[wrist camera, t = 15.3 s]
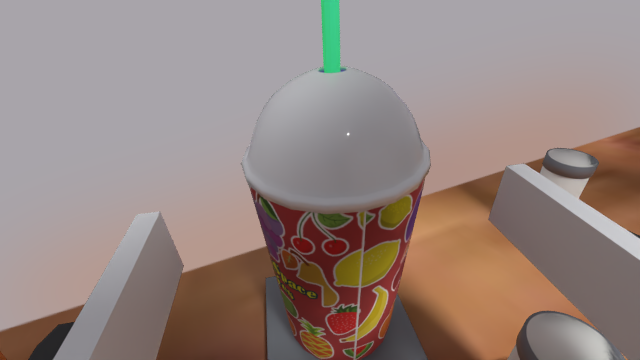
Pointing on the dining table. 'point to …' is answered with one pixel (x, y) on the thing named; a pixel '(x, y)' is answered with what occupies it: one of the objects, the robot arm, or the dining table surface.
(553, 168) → the post far
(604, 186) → the dining table surface
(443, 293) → the dining table surface
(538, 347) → the post near
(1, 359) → the reusable coffee cup
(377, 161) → the smoothie
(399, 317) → the mat
